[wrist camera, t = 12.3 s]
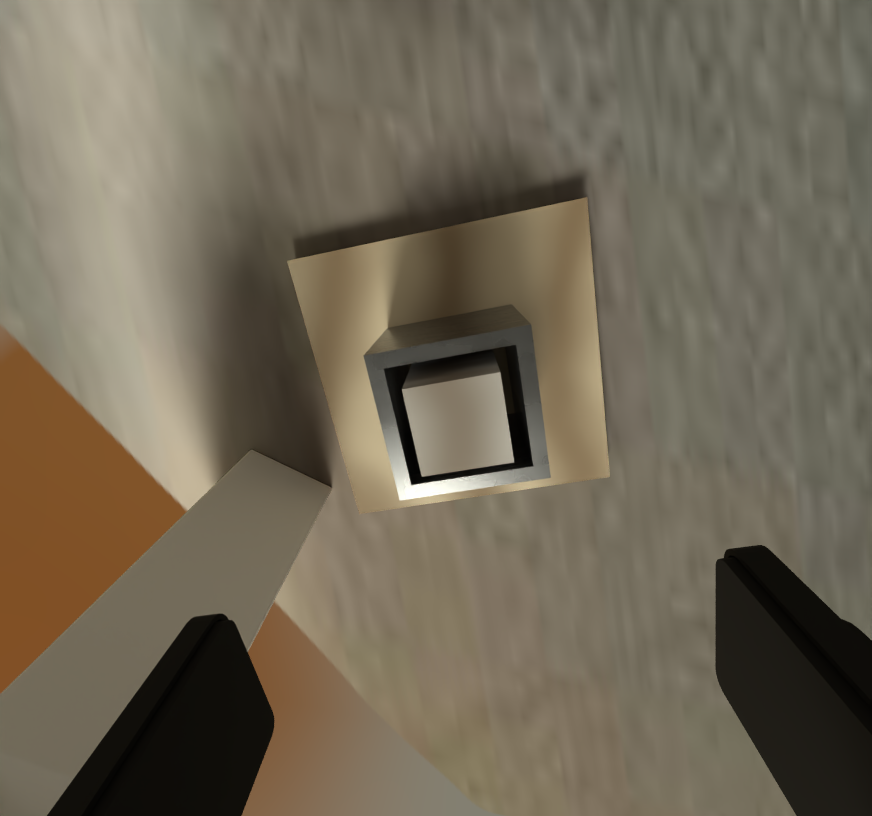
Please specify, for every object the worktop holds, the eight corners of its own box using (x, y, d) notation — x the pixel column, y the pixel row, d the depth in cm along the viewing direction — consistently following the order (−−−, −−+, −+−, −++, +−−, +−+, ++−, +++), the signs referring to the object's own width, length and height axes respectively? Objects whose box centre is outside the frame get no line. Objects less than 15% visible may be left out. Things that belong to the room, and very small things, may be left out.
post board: (579, 200, 24) (649, 172, 16) (602, 465, 30) (665, 560, 21) (296, 260, 26) (212, 266, 17) (363, 501, 31) (326, 604, 22)
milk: (333, 486, 31) (89, 971, 10) (299, 551, 33) (36, 1074, 12) (249, 446, 30) (-199, 884, 9) (219, 516, 32) (-208, 1008, 11)
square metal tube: (511, 304, 25) (531, 324, 18) (528, 421, 27) (550, 477, 21) (387, 327, 26) (363, 355, 19) (413, 440, 28) (399, 500, 21)
